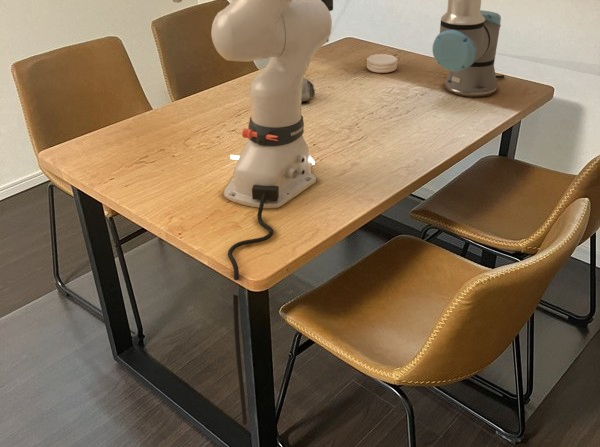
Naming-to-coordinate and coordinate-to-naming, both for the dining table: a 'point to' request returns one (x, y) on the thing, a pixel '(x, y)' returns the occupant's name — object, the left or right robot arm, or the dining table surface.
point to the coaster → (381, 63)
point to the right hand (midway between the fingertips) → (314, 31)
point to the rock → (307, 90)
